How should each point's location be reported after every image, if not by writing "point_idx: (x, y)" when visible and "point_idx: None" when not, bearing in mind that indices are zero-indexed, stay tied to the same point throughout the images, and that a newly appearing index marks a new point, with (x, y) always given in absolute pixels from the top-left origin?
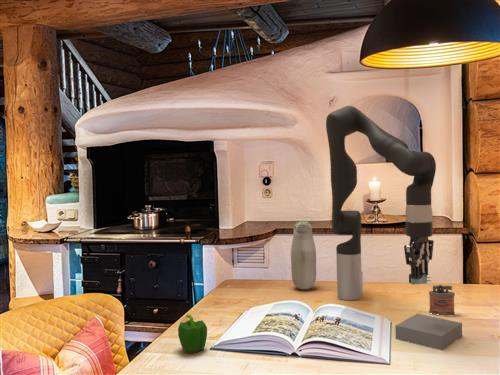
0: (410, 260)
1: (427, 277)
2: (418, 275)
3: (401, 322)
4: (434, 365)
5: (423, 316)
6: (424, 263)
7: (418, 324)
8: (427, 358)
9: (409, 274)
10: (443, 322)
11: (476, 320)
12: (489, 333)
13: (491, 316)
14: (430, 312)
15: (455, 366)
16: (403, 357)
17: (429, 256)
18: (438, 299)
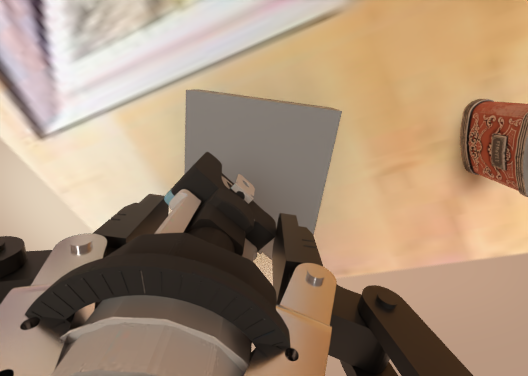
0: (42, 275)
1: (272, 247)
2: None
3: (224, 96)
4: (107, 218)
5: (320, 139)
6: (278, 296)
7: (236, 150)
8: (130, 197)
9: (194, 169)
10: (291, 204)
11: (443, 228)
12: (353, 266)
13: (489, 250)
14: (470, 107)
15: None
16: (98, 152)
17: (349, 372)
18: (503, 143)
